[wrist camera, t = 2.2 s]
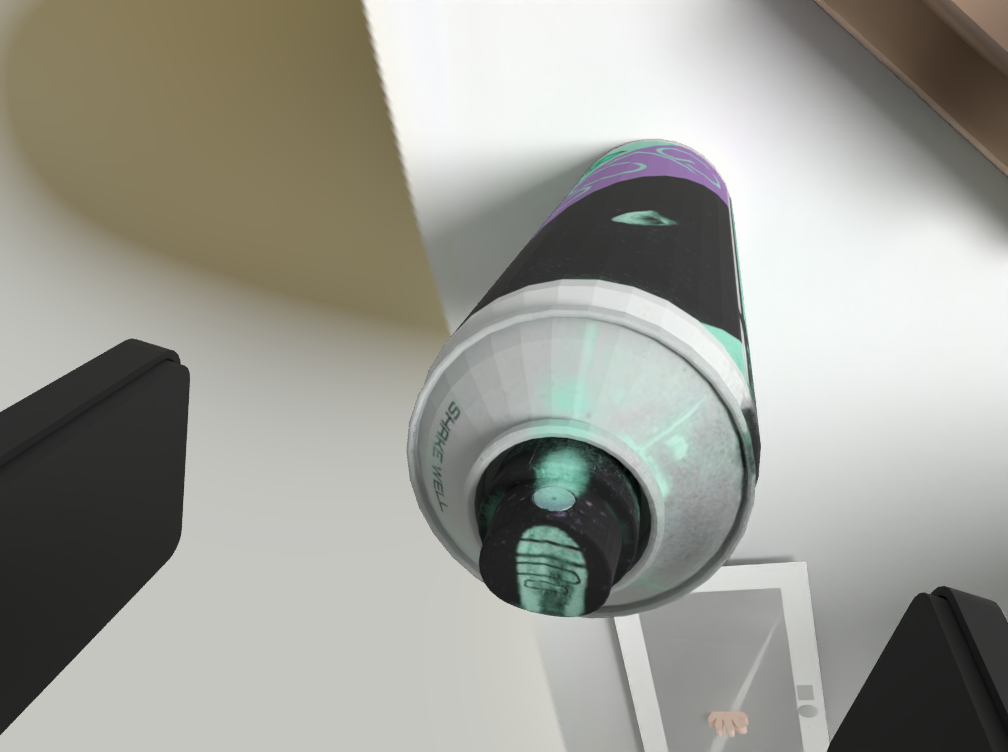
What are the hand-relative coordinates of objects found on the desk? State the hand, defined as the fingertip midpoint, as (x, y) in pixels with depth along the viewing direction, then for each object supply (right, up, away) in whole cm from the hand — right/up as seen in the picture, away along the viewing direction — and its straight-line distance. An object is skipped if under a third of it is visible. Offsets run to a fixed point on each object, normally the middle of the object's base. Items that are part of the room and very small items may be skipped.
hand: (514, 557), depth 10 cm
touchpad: (+10, -12, +26) cm, 30 cm away
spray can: (+5, +8, +18) cm, 20 cm away
